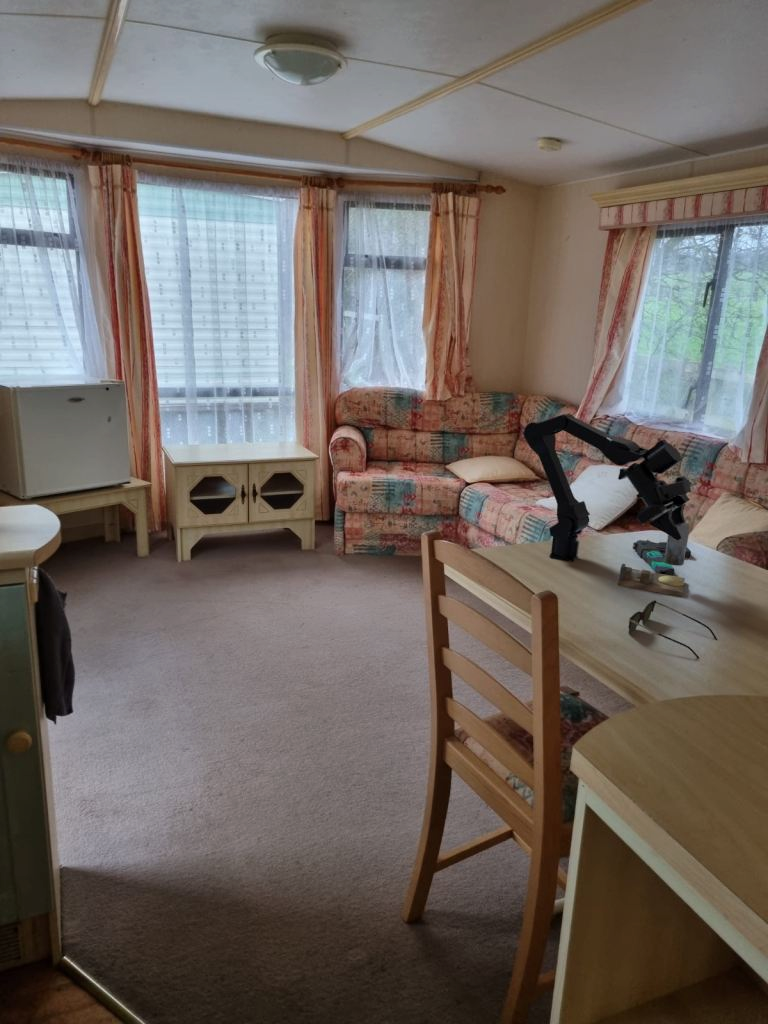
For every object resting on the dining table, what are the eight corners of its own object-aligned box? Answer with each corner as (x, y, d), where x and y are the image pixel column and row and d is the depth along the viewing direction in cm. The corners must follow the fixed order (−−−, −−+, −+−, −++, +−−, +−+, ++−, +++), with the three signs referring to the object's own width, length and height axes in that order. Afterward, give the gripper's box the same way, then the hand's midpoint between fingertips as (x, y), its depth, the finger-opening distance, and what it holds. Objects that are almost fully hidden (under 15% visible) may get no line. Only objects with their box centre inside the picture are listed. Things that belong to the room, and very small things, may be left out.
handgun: (681, 539, 208) (630, 535, 208) (716, 571, 183) (657, 566, 184) (679, 551, 209) (628, 546, 209) (713, 584, 184) (654, 579, 185)
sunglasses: (650, 618, 159) (655, 598, 158) (718, 644, 151) (724, 623, 149) (624, 638, 149) (629, 616, 147) (696, 667, 140) (702, 645, 138)
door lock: (617, 584, 178) (619, 568, 177) (623, 571, 187) (625, 555, 186) (681, 596, 172) (684, 579, 171) (684, 582, 182) (686, 566, 180)
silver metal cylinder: (668, 565, 174) (675, 526, 171) (660, 558, 178) (667, 520, 176) (686, 565, 174) (693, 526, 172) (678, 559, 179) (685, 521, 176)
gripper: (657, 471, 166) (697, 527, 162) (687, 461, 179) (725, 513, 175) (620, 496, 173) (657, 551, 169) (652, 485, 186) (687, 536, 182)
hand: (683, 537), depth 174 cm, fingers closed on silver metal cylinder, 5 cm apart
